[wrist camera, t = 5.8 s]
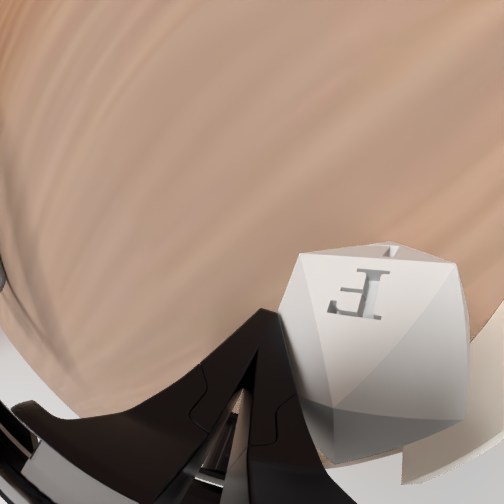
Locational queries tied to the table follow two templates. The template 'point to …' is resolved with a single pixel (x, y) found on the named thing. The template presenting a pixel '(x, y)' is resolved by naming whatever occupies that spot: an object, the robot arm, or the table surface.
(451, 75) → the table surface
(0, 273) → the newton's cradle
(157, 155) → the table surface
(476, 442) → the board
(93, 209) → the table surface
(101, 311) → the table surface
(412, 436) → the die
